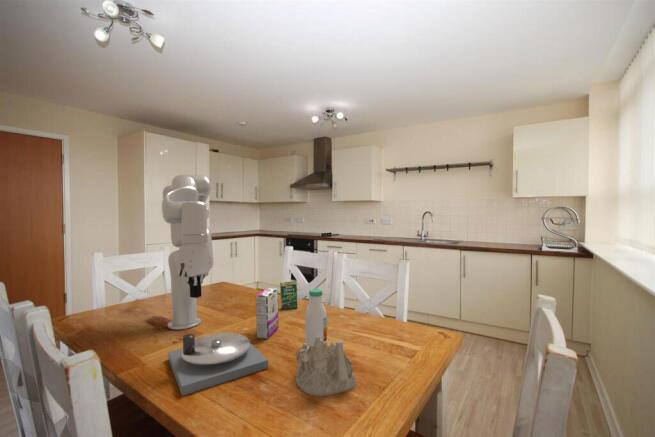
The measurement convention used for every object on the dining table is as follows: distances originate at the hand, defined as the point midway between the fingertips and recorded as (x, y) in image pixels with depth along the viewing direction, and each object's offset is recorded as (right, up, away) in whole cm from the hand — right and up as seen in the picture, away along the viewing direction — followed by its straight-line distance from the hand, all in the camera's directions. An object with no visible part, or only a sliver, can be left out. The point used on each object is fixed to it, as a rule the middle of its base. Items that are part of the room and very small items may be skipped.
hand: (195, 296), depth 98 cm
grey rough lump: (+41, -21, -11) cm, 48 cm away
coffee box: (+23, -19, +52) cm, 60 cm away
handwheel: (+7, -17, -2) cm, 18 cm away
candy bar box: (+19, -20, +22) cm, 35 cm away
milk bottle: (+38, -20, +10) cm, 44 cm away
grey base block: (+7, -21, -2) cm, 22 cm away
